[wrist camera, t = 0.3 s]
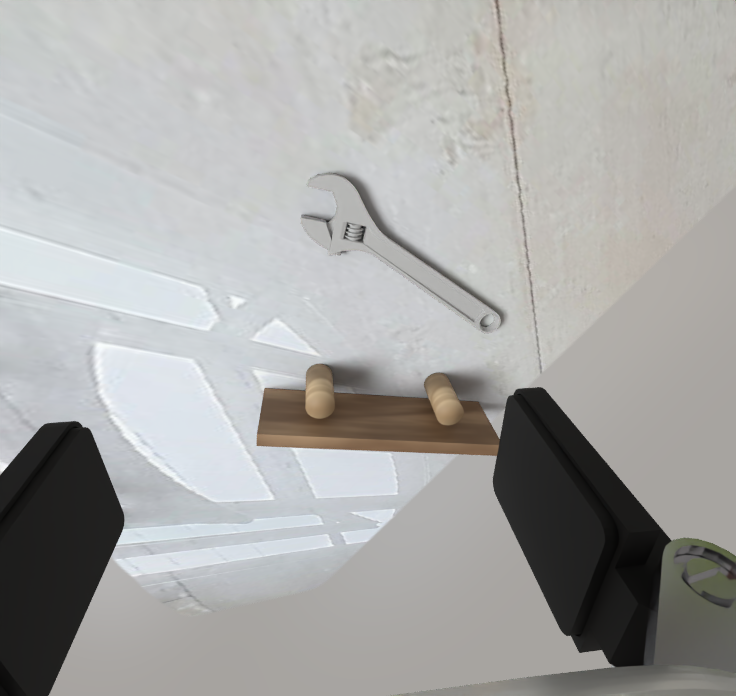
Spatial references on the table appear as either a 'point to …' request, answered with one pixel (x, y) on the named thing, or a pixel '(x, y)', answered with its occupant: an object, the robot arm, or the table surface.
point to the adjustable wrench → (386, 250)
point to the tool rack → (374, 419)
